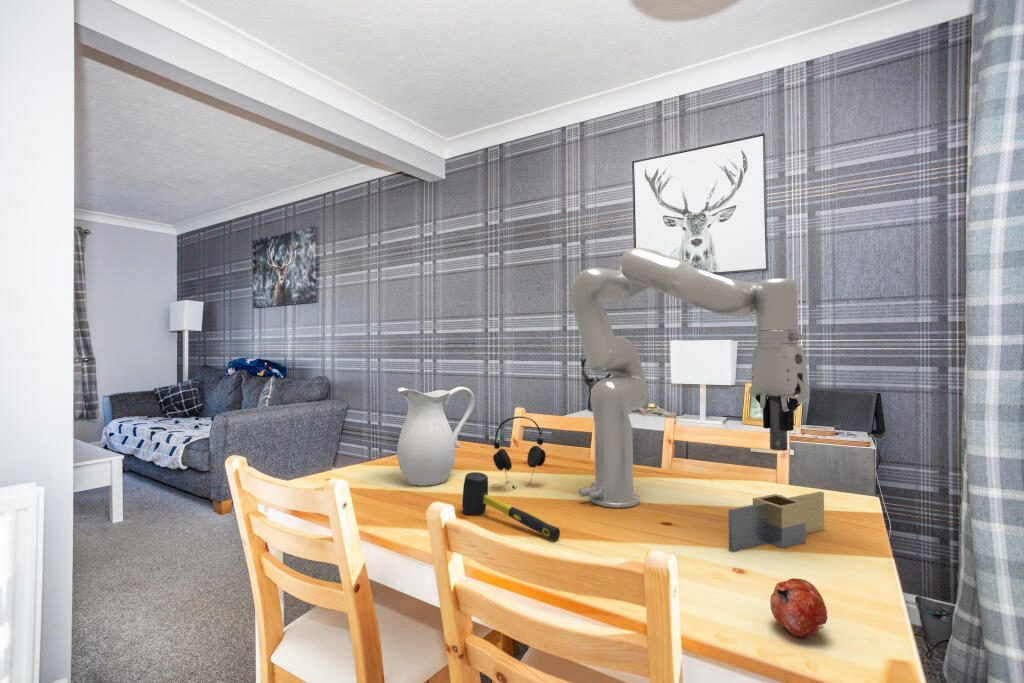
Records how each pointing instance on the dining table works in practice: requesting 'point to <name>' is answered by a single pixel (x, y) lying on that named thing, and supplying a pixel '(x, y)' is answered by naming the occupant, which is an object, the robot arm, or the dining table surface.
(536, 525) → the mallet
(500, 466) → the headphones
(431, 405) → the pitcher
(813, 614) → the pomegranate
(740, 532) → the hinge
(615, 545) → the dining table surface
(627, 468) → the robot arm
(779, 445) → the hinge pin
